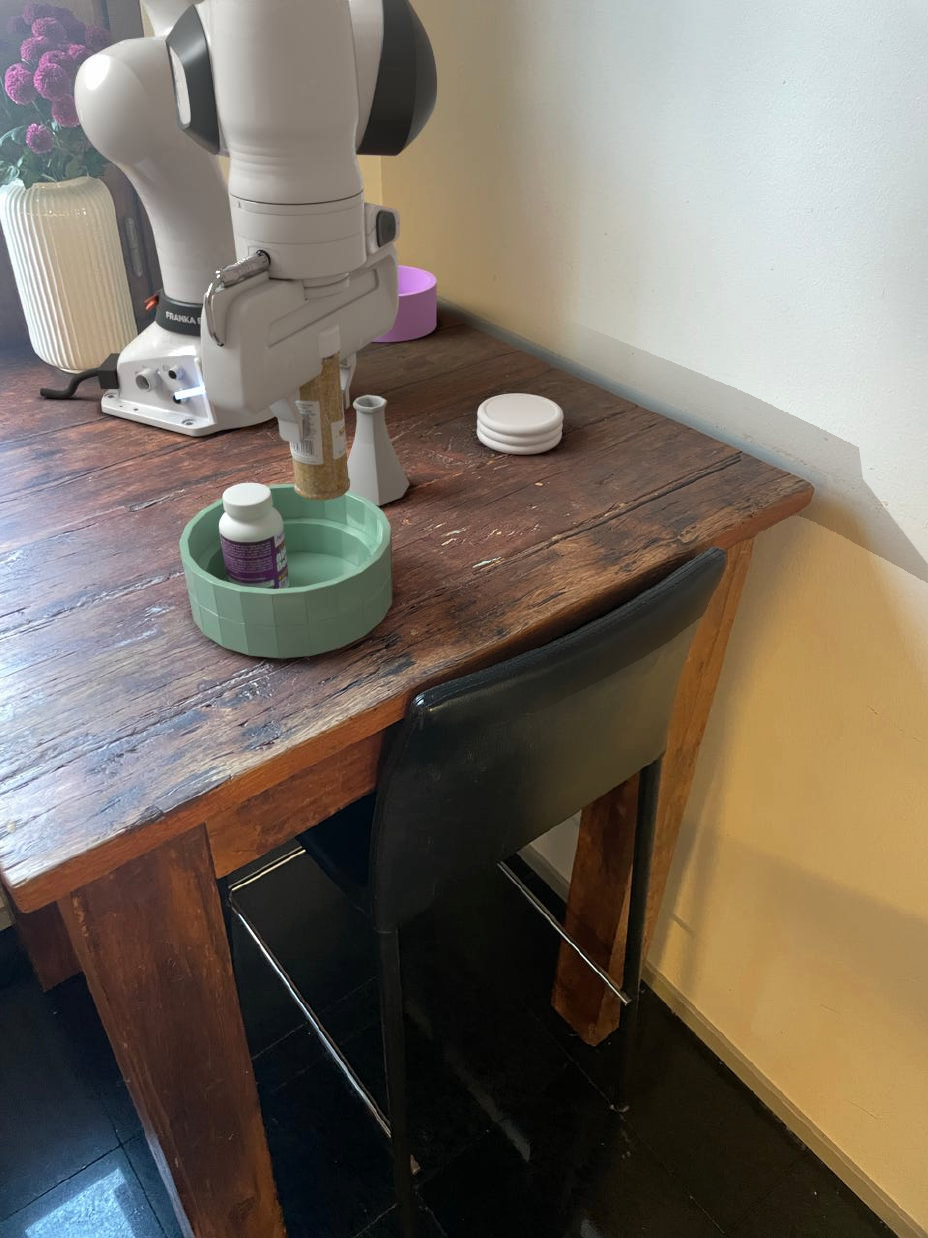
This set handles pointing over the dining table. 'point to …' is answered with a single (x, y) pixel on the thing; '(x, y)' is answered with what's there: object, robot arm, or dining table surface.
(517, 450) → the white round disc stack
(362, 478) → the flask
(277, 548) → the pill bottle
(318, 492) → the sprinkles bottle
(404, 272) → the container set
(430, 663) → the dining table surface
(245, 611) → the mint green bowl
